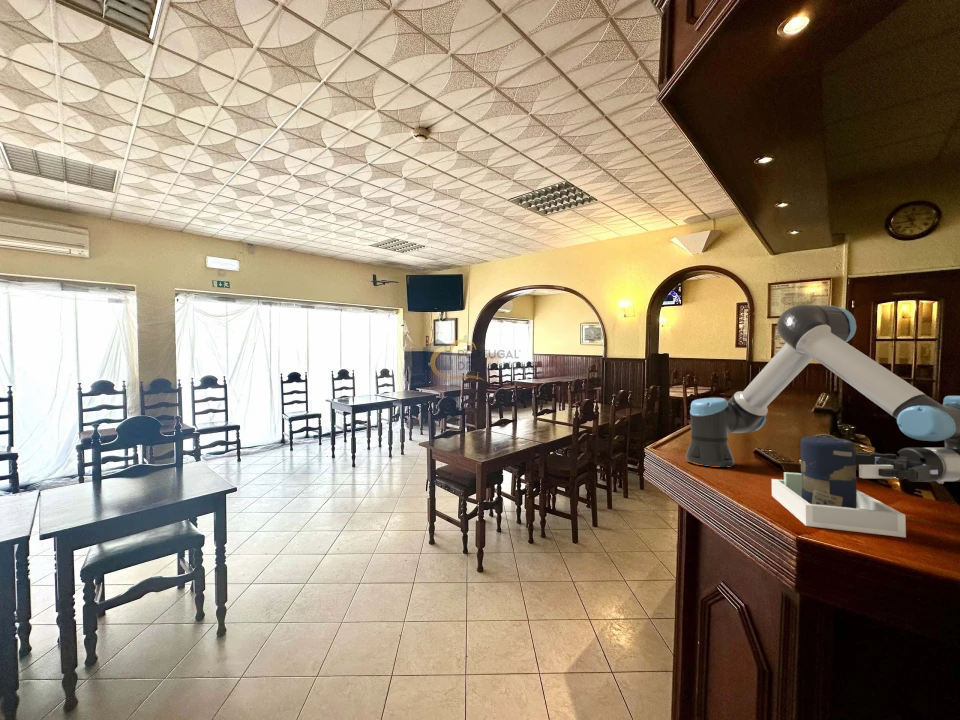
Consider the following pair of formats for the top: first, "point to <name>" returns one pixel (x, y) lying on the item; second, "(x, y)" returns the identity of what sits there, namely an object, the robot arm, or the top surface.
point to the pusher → (793, 482)
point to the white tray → (843, 513)
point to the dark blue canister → (828, 471)
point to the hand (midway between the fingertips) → (832, 463)
